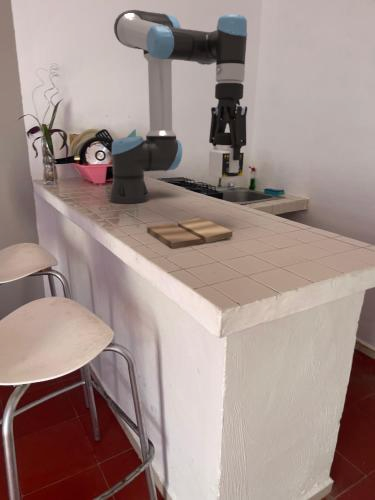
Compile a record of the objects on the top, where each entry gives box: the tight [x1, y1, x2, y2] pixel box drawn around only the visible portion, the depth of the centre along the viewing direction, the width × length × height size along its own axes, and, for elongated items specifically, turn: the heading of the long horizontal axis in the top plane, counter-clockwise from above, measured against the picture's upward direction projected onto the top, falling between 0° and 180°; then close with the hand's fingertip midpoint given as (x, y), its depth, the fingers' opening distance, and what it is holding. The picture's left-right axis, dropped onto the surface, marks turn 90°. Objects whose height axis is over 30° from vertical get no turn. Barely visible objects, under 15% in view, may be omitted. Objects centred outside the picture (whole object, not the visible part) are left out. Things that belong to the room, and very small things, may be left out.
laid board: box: [146, 223, 206, 250], centre depth 99 cm, size 16×9×2 cm, turn 28°
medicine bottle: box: [208, 131, 245, 179], centre depth 105 cm, size 7×7×12 cm
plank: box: [177, 217, 233, 244], centre depth 103 cm, size 16×8×2 cm, turn 28°
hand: (225, 170), depth 106 cm, fingers closed on medicine bottle, 7 cm apart
